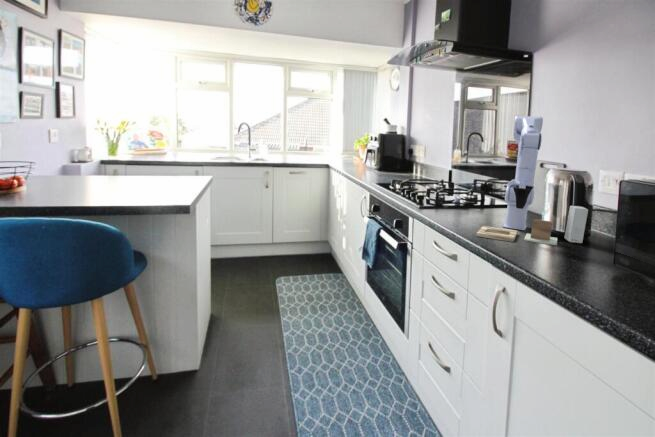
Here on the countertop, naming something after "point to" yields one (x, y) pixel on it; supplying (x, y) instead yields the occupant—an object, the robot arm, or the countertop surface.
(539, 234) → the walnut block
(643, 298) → the countertop surface
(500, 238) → the pocket plate
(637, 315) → the countertop surface
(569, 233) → the skincare box
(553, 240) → the sage tile
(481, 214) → the countertop surface
